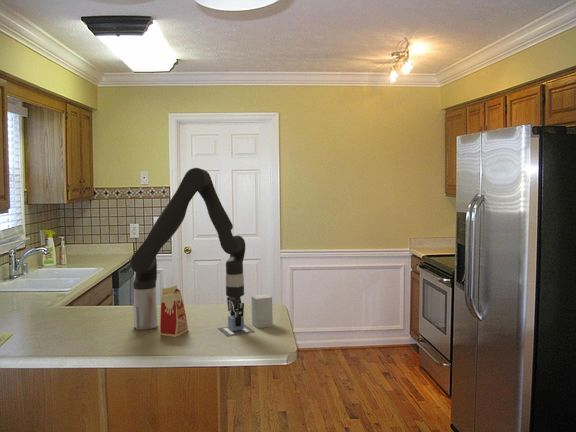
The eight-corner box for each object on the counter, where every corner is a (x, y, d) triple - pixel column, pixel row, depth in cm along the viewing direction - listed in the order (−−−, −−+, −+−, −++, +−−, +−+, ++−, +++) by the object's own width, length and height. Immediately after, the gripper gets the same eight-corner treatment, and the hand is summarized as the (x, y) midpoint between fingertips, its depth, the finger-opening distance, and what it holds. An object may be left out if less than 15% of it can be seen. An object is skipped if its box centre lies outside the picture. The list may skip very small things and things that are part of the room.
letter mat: (227, 336, 209) (227, 335, 209) (217, 328, 219) (217, 328, 219) (255, 331, 214) (255, 331, 214) (244, 324, 225) (244, 324, 225)
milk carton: (188, 330, 218) (186, 283, 216) (176, 337, 209) (174, 288, 208) (169, 328, 221) (167, 282, 219) (157, 335, 212) (155, 286, 211)
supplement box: (273, 326, 221) (272, 297, 220) (256, 328, 219) (255, 299, 218) (267, 321, 228) (267, 293, 227) (251, 323, 226) (250, 295, 225)
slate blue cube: (232, 330, 213) (232, 318, 213) (228, 327, 218) (227, 316, 217) (244, 328, 216) (243, 316, 215) (239, 325, 220) (239, 314, 220)
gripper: (220, 282, 220) (221, 321, 221) (232, 288, 207) (233, 330, 209) (237, 280, 223) (238, 318, 225) (249, 286, 210) (250, 327, 212)
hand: (235, 324), depth 217 cm, fingers open, 5 cm apart
